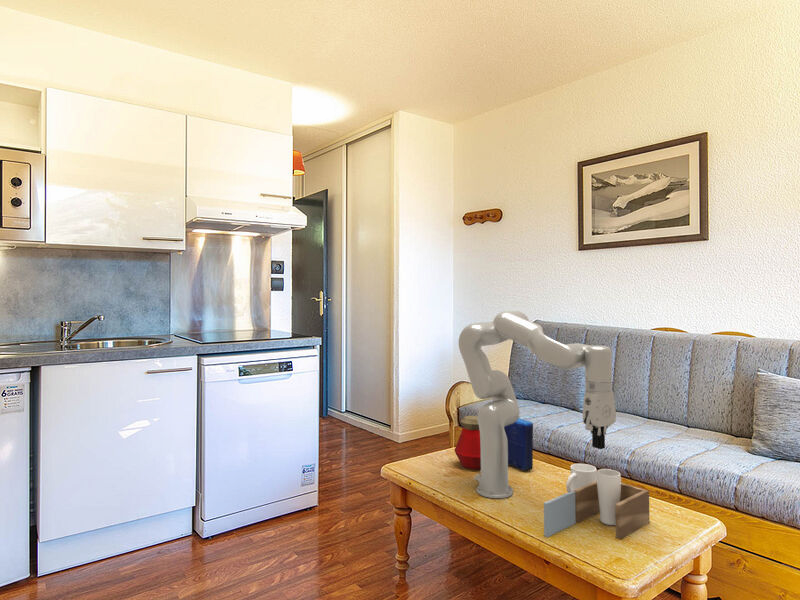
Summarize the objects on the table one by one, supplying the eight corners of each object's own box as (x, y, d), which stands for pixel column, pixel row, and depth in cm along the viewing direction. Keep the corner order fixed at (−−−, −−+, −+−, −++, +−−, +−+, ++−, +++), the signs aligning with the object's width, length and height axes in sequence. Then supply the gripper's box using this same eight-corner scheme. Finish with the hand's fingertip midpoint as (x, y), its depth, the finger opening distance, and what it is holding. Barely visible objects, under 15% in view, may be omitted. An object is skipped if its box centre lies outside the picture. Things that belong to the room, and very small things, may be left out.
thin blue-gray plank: (572, 522, 147) (572, 490, 147) (575, 523, 147) (575, 491, 147) (544, 536, 139) (543, 502, 139) (547, 537, 138) (546, 503, 138)
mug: (576, 506, 159) (576, 475, 159) (557, 497, 166) (557, 467, 166) (602, 499, 164) (601, 469, 164) (582, 491, 172) (582, 462, 172)
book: (500, 463, 203) (499, 415, 203) (509, 461, 205) (509, 413, 205) (524, 473, 190) (524, 422, 190) (534, 471, 193) (534, 420, 193)
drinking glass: (610, 529, 143) (609, 477, 143) (592, 519, 149) (591, 470, 149) (626, 524, 145) (626, 474, 146) (608, 515, 152) (608, 467, 152)
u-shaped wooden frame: (574, 521, 148) (573, 490, 148) (604, 506, 158) (604, 477, 158) (619, 539, 136) (619, 505, 136) (649, 522, 147) (649, 490, 147)
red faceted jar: (498, 466, 199) (498, 417, 199) (479, 475, 189) (478, 423, 189) (467, 458, 210) (466, 411, 210) (447, 465, 200) (447, 417, 200)
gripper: (593, 391, 140) (593, 455, 139) (624, 386, 147) (625, 447, 147) (571, 387, 146) (571, 448, 146) (603, 382, 154) (603, 440, 154)
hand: (598, 447), depth 147 cm, fingers closed
